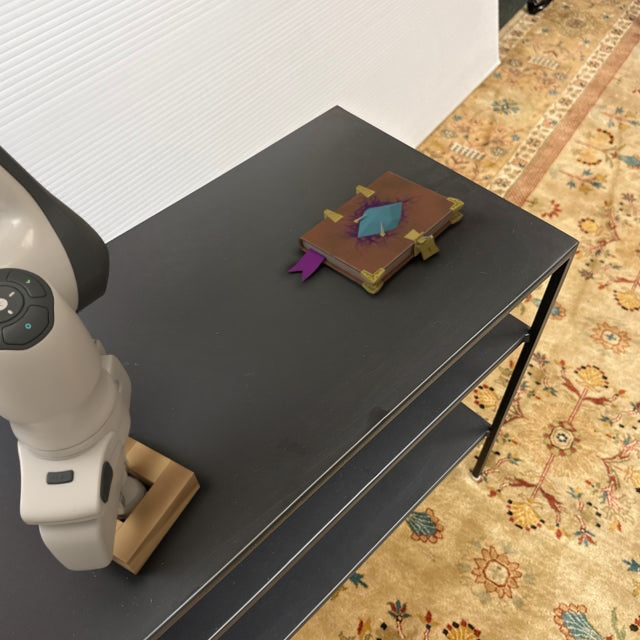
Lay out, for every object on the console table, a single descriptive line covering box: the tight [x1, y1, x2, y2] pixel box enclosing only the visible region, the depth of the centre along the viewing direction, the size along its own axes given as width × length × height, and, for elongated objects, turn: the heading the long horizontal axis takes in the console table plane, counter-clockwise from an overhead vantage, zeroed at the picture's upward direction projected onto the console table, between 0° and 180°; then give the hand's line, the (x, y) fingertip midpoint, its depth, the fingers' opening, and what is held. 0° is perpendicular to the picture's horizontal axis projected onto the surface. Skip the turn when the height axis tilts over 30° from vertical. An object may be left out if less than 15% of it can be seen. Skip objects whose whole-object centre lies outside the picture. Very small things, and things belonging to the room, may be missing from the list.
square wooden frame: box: [112, 435, 200, 575], centre depth 69 cm, size 11×11×4 cm
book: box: [286, 170, 465, 295], centre depth 92 cm, size 16×25×5 cm, turn 137°
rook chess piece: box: [117, 462, 148, 520], centre depth 66 cm, size 4×4×8 cm
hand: (119, 489), depth 67 cm, fingers closed on rook chess piece, 3 cm apart
